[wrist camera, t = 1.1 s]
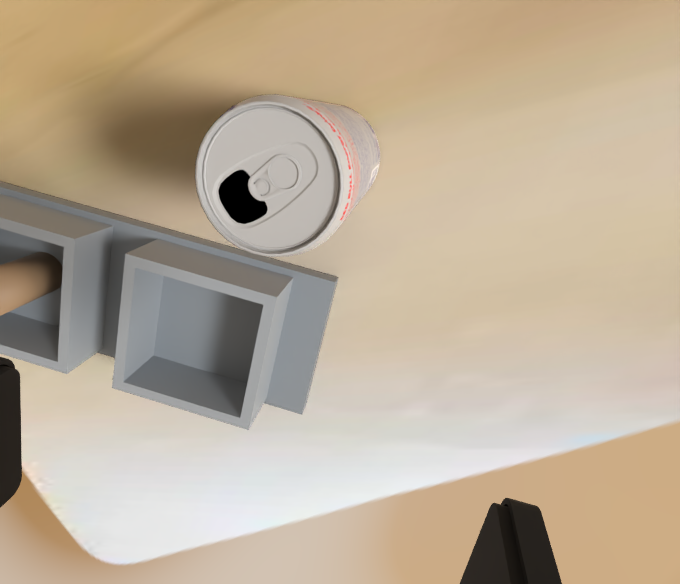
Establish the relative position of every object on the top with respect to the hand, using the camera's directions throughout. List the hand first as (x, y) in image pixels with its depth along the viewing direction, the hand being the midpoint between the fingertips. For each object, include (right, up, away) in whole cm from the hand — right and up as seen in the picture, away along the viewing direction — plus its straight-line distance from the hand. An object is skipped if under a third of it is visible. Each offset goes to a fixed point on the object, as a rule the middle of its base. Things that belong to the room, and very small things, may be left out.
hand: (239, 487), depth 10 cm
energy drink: (+1, +11, +18) cm, 21 cm away
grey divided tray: (-11, +4, +22) cm, 25 cm away
